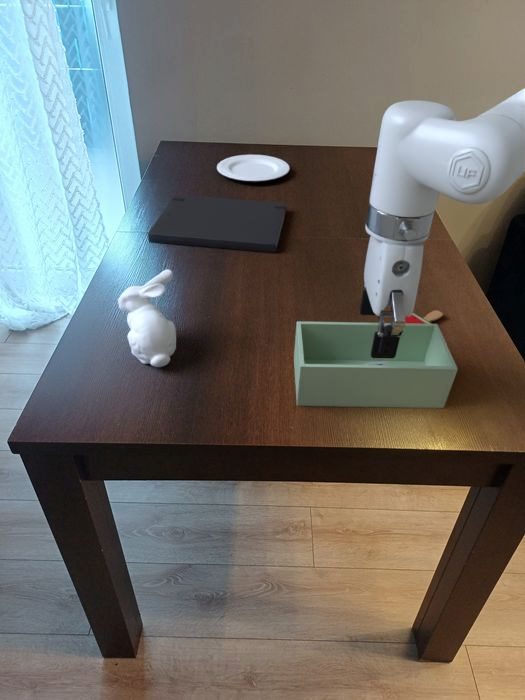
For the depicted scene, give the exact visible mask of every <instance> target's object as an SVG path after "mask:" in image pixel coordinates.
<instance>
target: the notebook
mask: <svg viewBox="0 0 525 700" xmlns="http://www.w3.org/2000/svg"><path fill="white" fill-rule="evenodd" d="M286 215H287V203H285V202H278V201H266V200H251V199H241V198H240V199H239V198H225V197H213V196H203V195H202V196H201V195H200V196H199V195H188V194H176V195H174V196H173V197H172V198H171V200H170V202H169V203H168V204H167V205H166V207H165V209H164V210H163V211H162V213H161V214H160V215H159V217H158V219H157V220H156V221H155V223H154V224H153V225H152V227H151V228H150V230H149V231H148V233H147V236H148V242H149V243H157V244H169V245H180V246H189V247H190V246H193V247H204V248H214V249H224V250H235V251H236V250H238V251H250V252H261V253H270V254H271V253H272V254H276V252H277V250H278V246H279V243H280V238H281V234H282V230H283V226H284V222H285V220H286V219H285V218H286Z"/></svg>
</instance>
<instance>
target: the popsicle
mask: <svg viewBox="0 0 525 700" xmlns="http://www.w3.org/2000/svg"><path fill="white" fill-rule="evenodd" d="M443 315H444V313H443V312H441V311H440V310H438V309H437V310H432V311H429V312H428V313H427V314H426V315H425V316H424V317H422V316H420V315H418V314H417V313H415V312H413V314H412V315H411V316H410V317H407V316H405V323H415V324H433V323H432V322H436V321H437V320H439V319H441V318H443Z"/></svg>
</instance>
